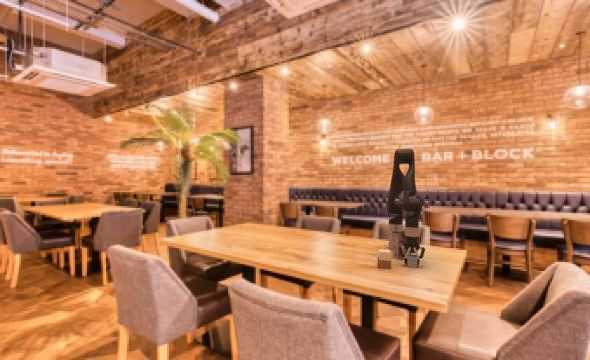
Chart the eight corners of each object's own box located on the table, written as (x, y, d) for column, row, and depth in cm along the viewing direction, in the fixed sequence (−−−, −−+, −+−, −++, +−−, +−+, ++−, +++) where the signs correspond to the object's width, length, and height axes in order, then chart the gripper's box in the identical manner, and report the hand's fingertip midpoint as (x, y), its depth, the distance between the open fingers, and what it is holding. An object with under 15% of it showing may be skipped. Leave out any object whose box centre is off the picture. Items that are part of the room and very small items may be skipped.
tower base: (377, 264, 167) (377, 256, 167) (390, 265, 166) (390, 257, 166) (377, 268, 161) (377, 260, 161) (391, 269, 159) (391, 261, 159)
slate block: (406, 264, 167) (406, 253, 167) (415, 265, 166) (415, 254, 166) (407, 267, 162) (407, 256, 162) (417, 267, 161) (417, 256, 161)
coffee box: (404, 255, 185) (404, 230, 185) (411, 258, 179) (411, 232, 178) (391, 256, 182) (392, 231, 182) (398, 259, 176) (398, 233, 176)
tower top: (378, 257, 167) (378, 249, 167) (389, 257, 165) (389, 249, 165) (378, 260, 161) (378, 251, 161) (390, 260, 159) (390, 252, 159)
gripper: (424, 234, 166) (424, 264, 166) (397, 232, 169) (397, 262, 170) (426, 236, 158) (426, 268, 159) (398, 235, 162) (398, 266, 162)
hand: (411, 264), depth 164 cm, fingers closed on slate block, 5 cm apart
